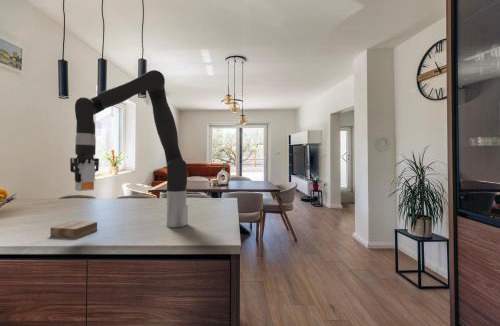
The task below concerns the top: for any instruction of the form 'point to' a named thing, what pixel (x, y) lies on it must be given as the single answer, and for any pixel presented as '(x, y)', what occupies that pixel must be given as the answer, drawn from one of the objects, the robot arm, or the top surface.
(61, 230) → the walnut block
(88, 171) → the skincare box
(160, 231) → the top surface
